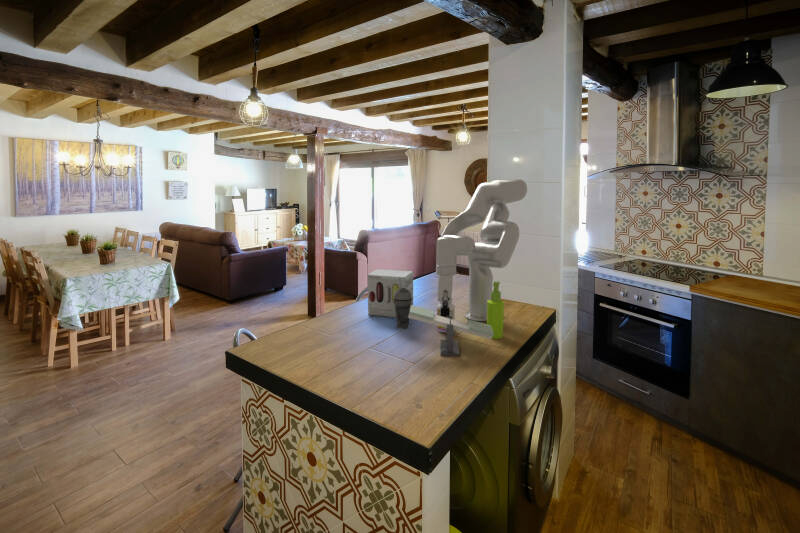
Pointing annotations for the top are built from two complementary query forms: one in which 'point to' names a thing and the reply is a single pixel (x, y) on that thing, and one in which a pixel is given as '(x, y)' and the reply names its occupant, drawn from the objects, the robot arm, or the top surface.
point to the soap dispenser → (495, 312)
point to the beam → (451, 322)
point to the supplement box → (386, 290)
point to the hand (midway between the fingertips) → (444, 314)
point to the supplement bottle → (451, 313)
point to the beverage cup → (402, 306)
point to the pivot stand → (449, 343)
